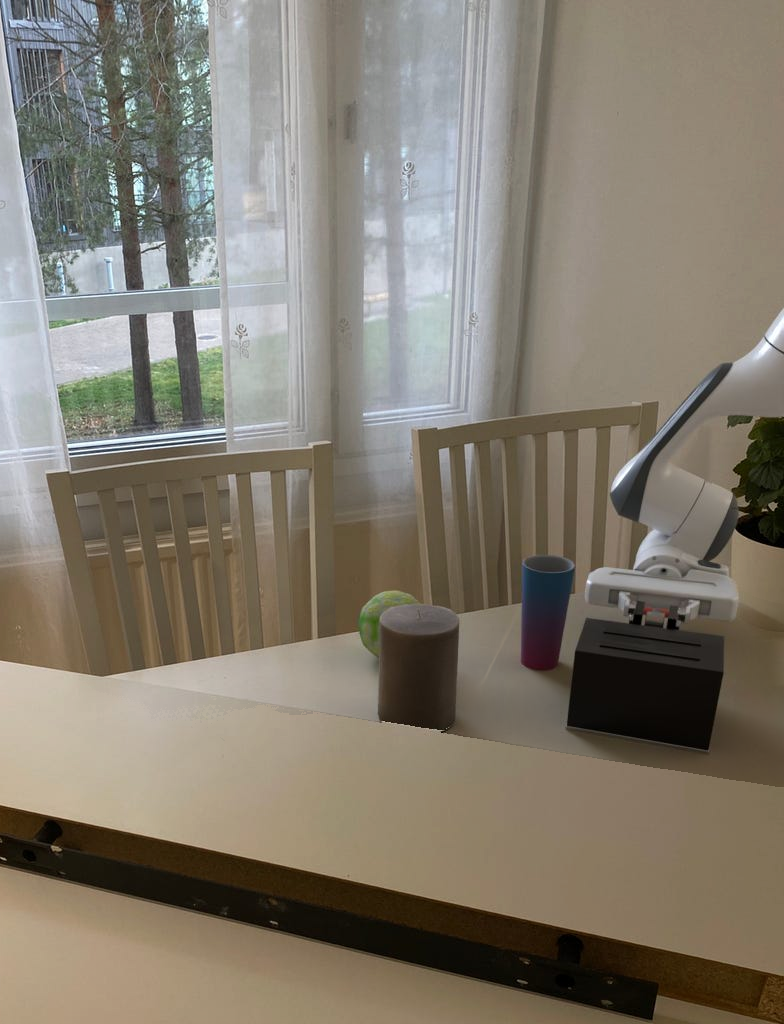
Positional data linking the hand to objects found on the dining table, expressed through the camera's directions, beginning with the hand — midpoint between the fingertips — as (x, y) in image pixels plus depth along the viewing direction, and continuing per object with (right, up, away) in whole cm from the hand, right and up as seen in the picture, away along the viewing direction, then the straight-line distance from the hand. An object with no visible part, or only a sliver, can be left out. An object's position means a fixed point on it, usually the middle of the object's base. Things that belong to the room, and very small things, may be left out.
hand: (656, 615), depth 123 cm
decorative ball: (-35, -6, +7) cm, 36 cm away
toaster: (-7, -14, -11) cm, 19 cm away
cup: (-15, -7, +4) cm, 17 cm away
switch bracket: (-3, -10, -4) cm, 11 cm away
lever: (-2, -2, -4) cm, 5 cm away
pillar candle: (-34, -13, -8) cm, 37 cm away
